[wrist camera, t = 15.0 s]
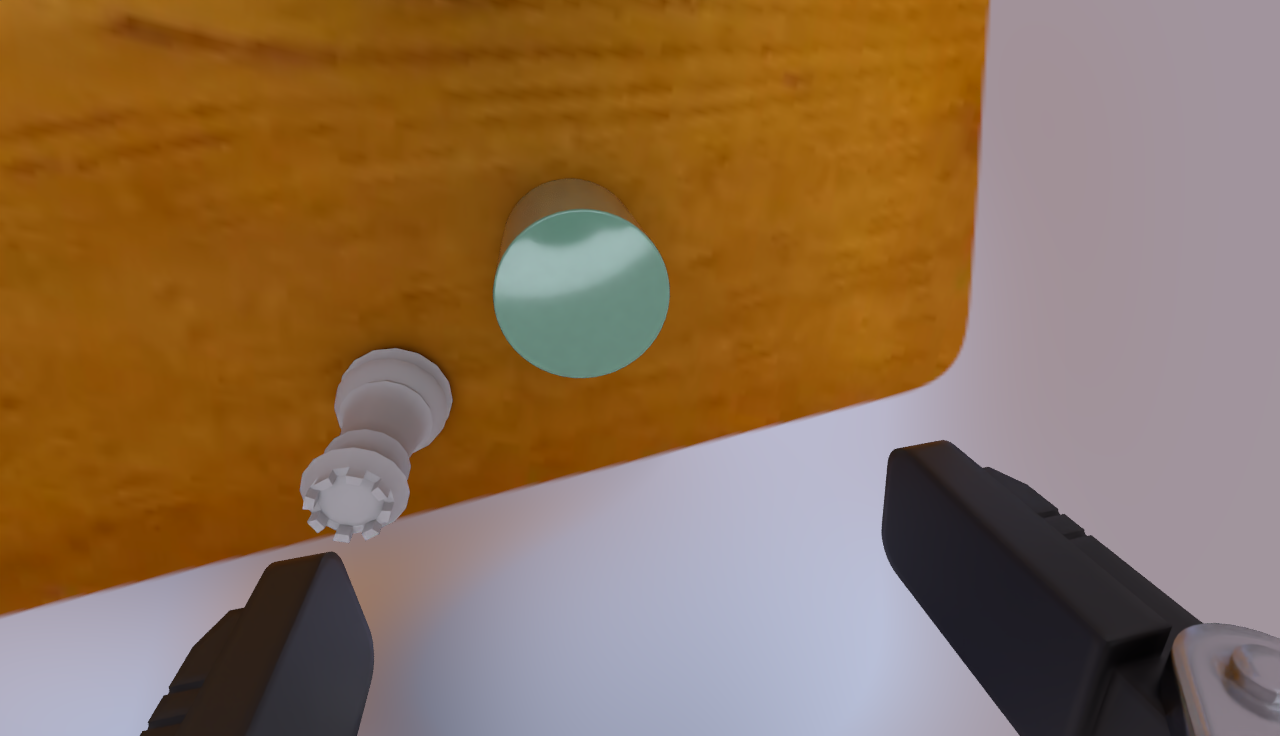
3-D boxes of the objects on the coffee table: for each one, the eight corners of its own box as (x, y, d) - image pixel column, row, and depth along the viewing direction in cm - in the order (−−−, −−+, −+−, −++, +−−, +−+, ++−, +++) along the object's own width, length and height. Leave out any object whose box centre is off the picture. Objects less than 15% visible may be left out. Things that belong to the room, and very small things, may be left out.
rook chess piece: (469, 420, 27) (446, 542, 20) (370, 449, 27) (311, 584, 20) (429, 330, 25) (387, 429, 18) (322, 361, 25) (236, 473, 18)
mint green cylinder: (516, 321, 25) (511, 391, 20) (489, 187, 23) (475, 222, 17) (644, 302, 26) (676, 364, 20) (630, 170, 24) (663, 197, 18)
